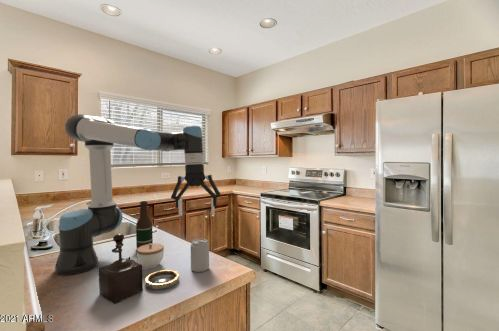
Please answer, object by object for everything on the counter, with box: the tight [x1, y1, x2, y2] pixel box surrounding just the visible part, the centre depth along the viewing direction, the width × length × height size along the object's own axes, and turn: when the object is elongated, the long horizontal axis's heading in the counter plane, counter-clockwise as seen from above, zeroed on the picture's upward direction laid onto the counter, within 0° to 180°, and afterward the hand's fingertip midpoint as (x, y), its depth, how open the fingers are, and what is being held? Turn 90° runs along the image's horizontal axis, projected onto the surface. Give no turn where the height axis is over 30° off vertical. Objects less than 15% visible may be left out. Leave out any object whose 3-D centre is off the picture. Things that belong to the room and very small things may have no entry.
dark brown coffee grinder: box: [97, 233, 144, 305], centre depth 91 cm, size 16×11×18 cm
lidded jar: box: [136, 243, 165, 269], centre depth 112 cm, size 11×11×9 cm
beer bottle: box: [135, 200, 154, 250], centre depth 131 cm, size 8×8×24 cm
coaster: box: [145, 269, 180, 291], centre depth 97 cm, size 12×12×2 cm
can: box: [190, 238, 210, 273], centre depth 108 cm, size 8×8×12 cm
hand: (196, 214), depth 109 cm, fingers open, 13 cm apart
